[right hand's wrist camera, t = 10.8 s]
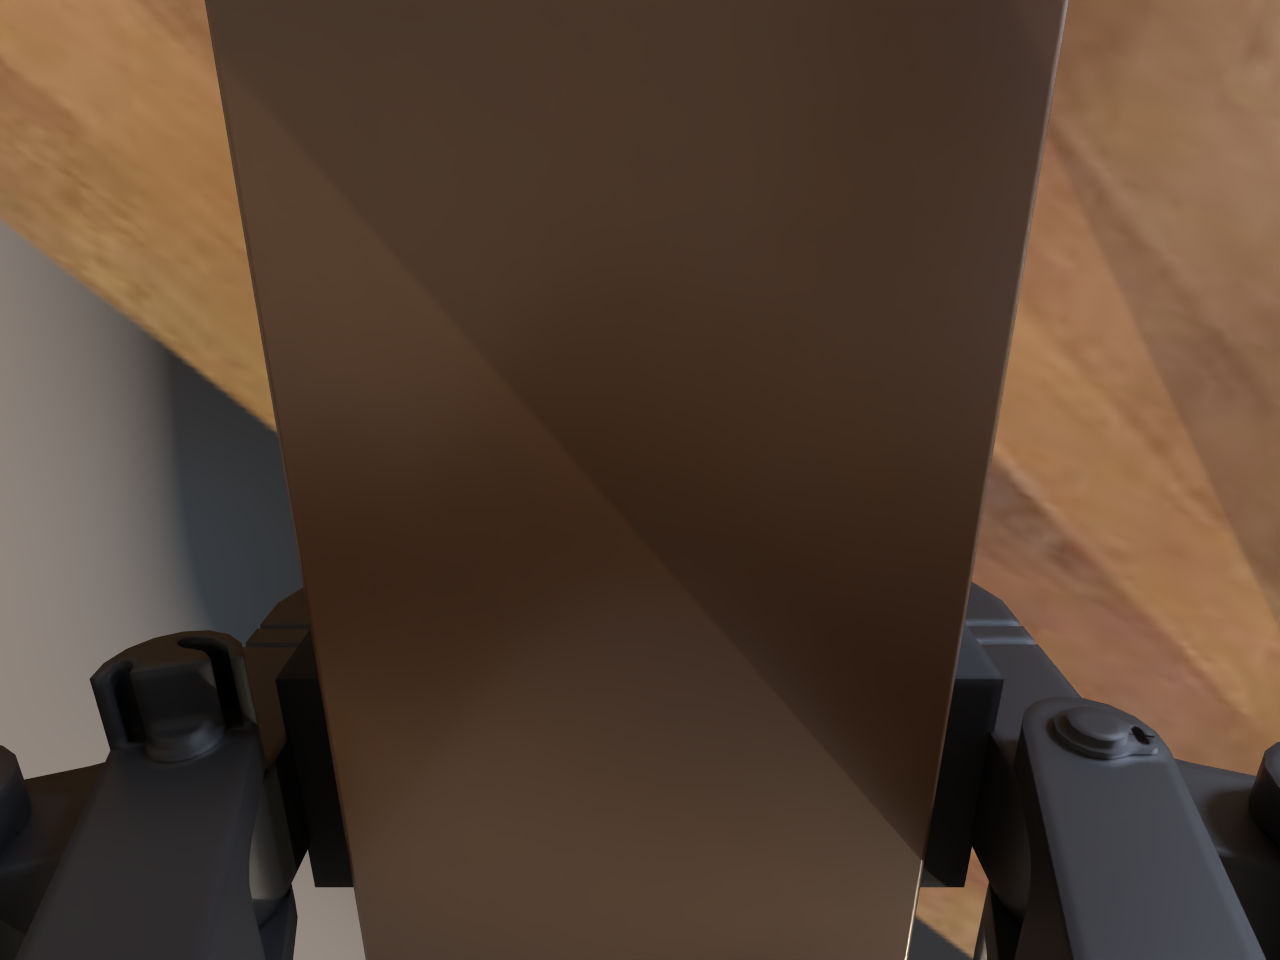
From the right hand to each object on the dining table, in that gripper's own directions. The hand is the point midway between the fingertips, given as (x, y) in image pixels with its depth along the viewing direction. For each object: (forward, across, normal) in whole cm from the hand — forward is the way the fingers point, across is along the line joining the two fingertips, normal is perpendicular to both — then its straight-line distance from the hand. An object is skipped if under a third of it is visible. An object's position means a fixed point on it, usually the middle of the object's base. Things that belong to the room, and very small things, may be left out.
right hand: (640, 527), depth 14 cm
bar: (+1, 0, -21) cm, 21 cm away
